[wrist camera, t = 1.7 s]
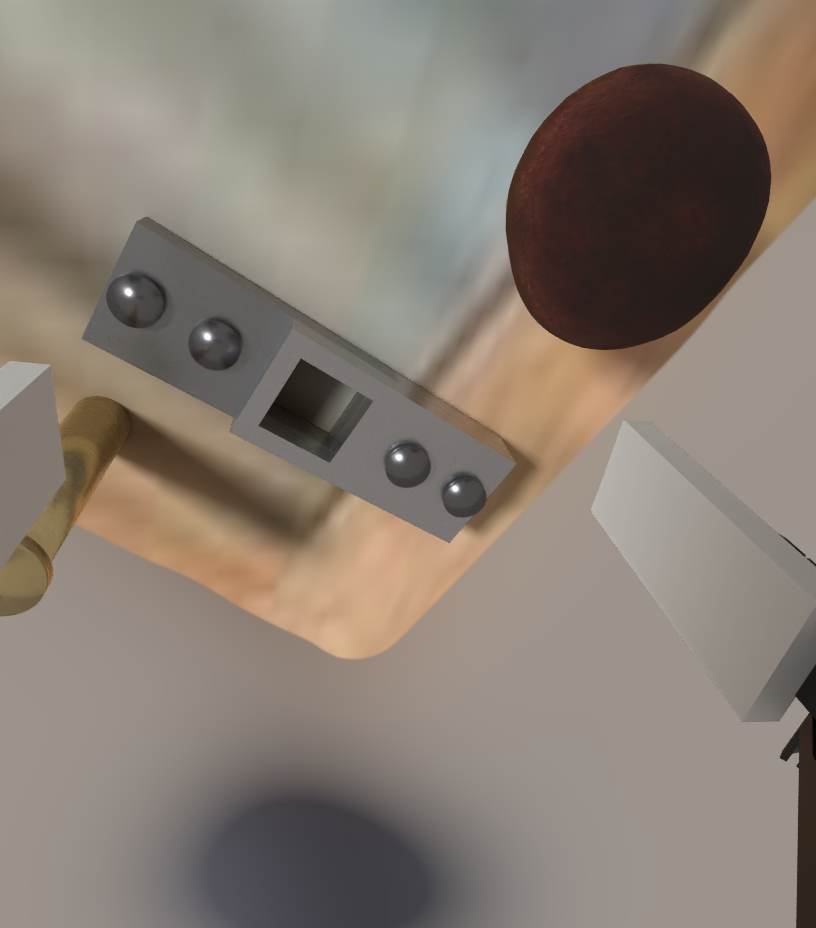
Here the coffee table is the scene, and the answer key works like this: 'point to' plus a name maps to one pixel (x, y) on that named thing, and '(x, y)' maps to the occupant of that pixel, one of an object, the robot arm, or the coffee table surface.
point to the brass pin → (64, 499)
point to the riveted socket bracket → (268, 368)
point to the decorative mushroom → (635, 205)
